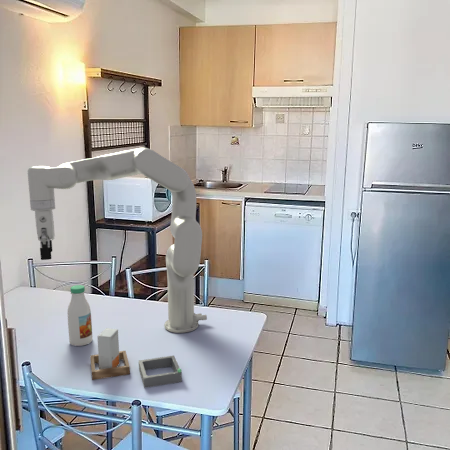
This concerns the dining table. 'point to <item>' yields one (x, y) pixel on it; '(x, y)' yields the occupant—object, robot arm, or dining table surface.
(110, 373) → the wooden picture frame
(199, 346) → the dining table surface
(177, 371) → the gray square frame
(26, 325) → the dining table surface
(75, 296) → the milk bottle
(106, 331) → the skincare box
